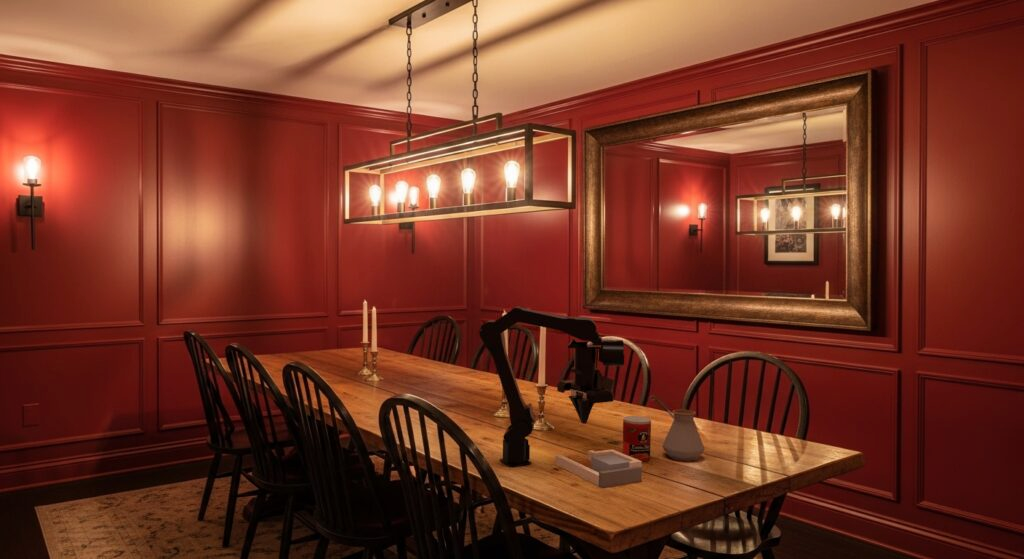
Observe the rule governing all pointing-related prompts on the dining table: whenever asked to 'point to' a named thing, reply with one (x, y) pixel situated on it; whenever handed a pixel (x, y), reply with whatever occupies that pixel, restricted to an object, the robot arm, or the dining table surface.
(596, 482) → the white tray
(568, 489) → the dining table surface
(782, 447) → the dining table surface
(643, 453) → the canned food
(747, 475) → the dining table surface
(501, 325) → the robot arm
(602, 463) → the slate block
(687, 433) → the coffee pot
